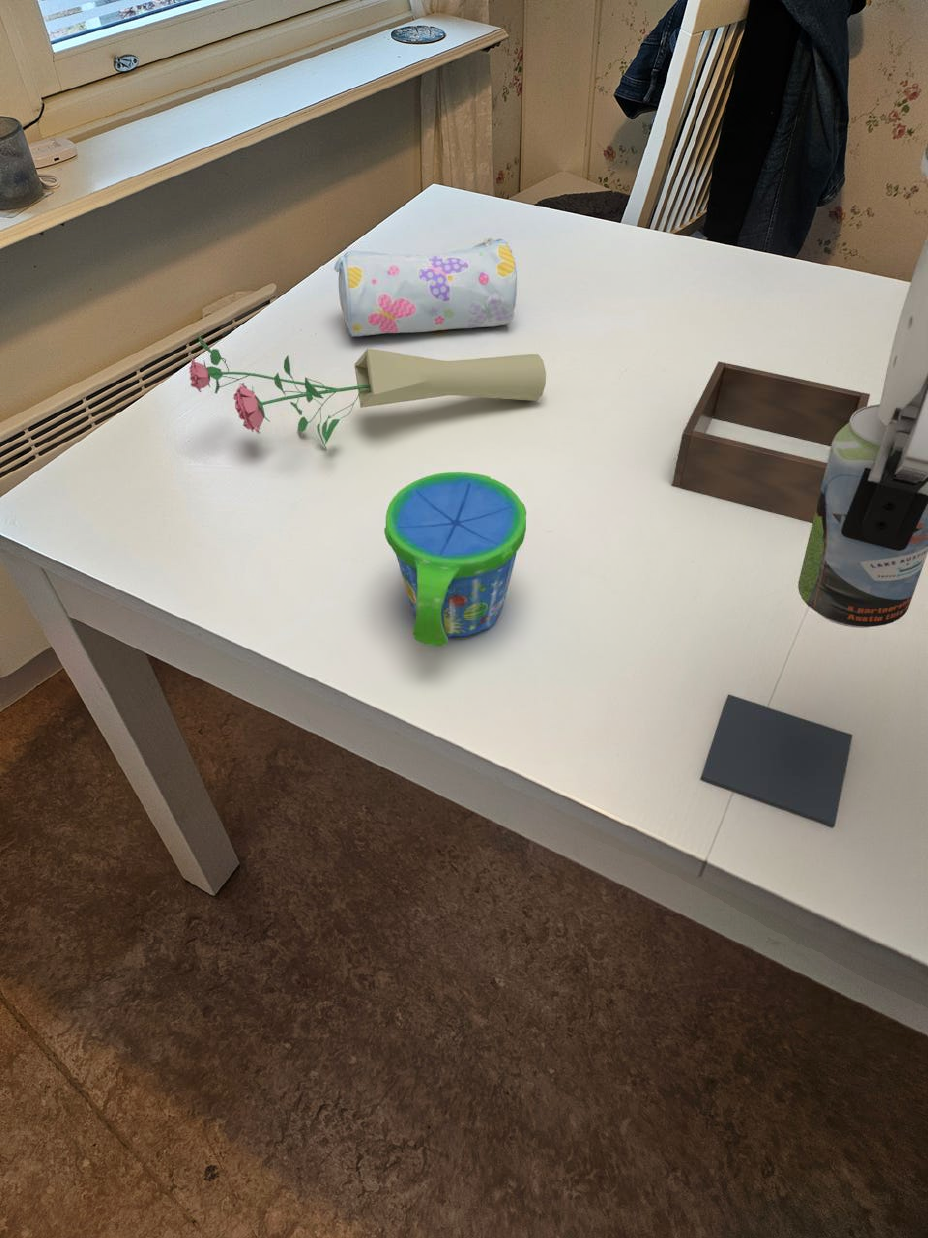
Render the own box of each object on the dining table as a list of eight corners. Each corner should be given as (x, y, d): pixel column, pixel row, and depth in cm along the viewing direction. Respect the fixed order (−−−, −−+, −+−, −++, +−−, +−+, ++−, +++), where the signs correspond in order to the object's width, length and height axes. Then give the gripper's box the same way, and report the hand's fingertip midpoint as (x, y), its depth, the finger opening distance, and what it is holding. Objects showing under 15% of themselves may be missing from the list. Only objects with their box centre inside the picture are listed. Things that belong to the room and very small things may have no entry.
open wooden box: (850, 445, 87) (870, 393, 83) (828, 526, 79) (849, 473, 74) (706, 412, 91) (718, 360, 87) (671, 485, 83) (682, 432, 79)
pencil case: (506, 301, 108) (508, 224, 102) (523, 335, 103) (526, 256, 96) (339, 318, 106) (329, 240, 99) (346, 354, 100) (336, 274, 93)
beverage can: (828, 654, 49) (900, 487, 40) (764, 566, 54) (815, 400, 45) (927, 630, 50) (1018, 461, 41) (855, 546, 55) (923, 378, 46)
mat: (850, 738, 63) (852, 734, 63) (833, 827, 58) (834, 824, 58) (727, 697, 66) (728, 693, 65) (700, 779, 61) (701, 776, 60)
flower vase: (524, 474, 97) (200, 493, 82) (489, 390, 102) (179, 395, 87) (566, 400, 87) (208, 407, 73) (526, 312, 92) (183, 303, 78)
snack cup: (484, 695, 66) (485, 601, 58) (359, 658, 68) (345, 563, 61) (546, 563, 76) (554, 468, 68) (434, 534, 78) (430, 440, 71)
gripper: (1162, 242, 27) (940, 631, 40) (1135, 87, 38) (966, 434, 51) (909, 205, 30) (777, 584, 43) (950, 68, 40) (834, 405, 53)
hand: (881, 499), depth 47 cm, fingers closed on beverage can, 6 cm apart
